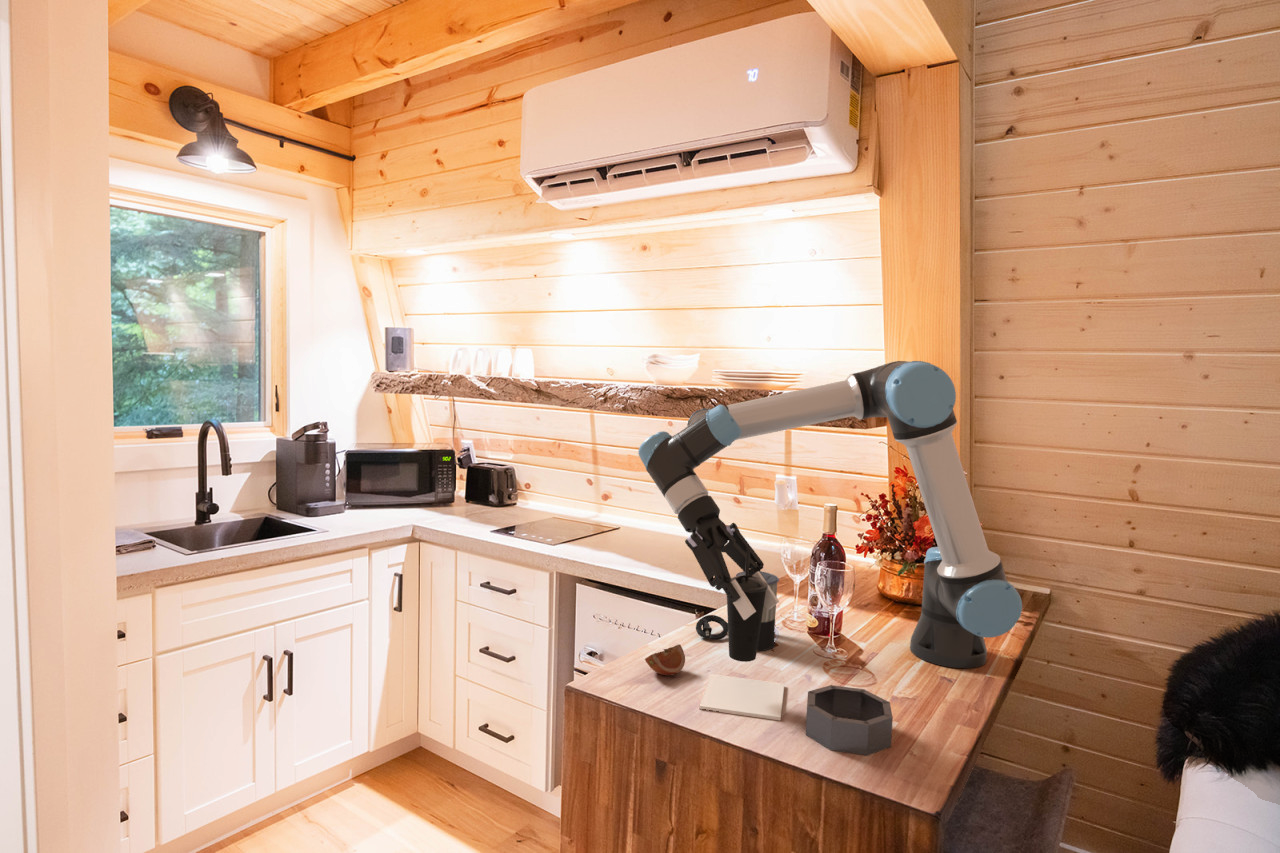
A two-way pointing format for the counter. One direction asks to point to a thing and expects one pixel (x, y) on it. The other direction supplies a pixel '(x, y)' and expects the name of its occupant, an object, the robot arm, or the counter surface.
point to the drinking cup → (747, 631)
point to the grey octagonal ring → (849, 720)
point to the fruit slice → (667, 661)
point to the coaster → (743, 697)
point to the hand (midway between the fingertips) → (761, 610)
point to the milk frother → (766, 623)
